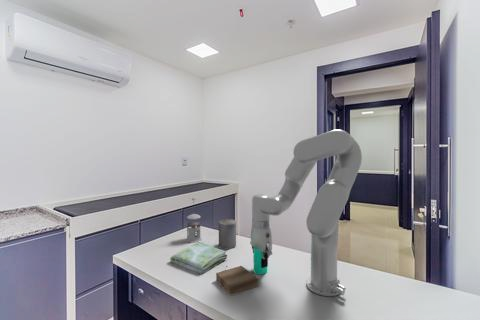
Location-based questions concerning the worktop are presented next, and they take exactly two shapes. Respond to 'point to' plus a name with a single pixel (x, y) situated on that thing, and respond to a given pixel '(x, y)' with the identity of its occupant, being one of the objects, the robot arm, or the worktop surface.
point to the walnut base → (236, 280)
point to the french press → (193, 228)
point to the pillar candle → (227, 233)
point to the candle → (258, 262)
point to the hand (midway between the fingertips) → (260, 264)
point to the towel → (199, 257)
